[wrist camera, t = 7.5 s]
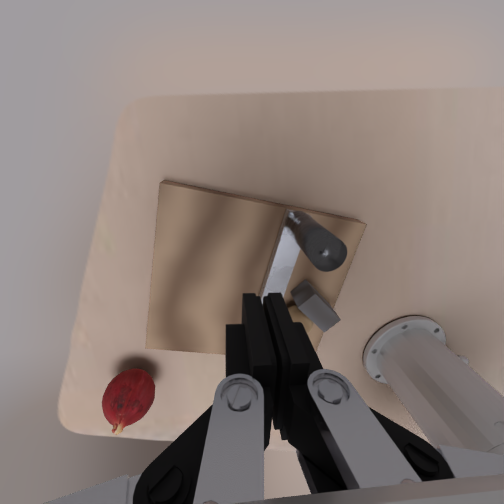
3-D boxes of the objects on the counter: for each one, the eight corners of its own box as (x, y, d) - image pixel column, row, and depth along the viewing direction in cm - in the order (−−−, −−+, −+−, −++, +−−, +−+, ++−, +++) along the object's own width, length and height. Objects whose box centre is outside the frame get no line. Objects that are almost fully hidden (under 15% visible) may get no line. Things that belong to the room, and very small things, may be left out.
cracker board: (357, 219, 30) (386, 234, 25) (307, 350, 37) (321, 383, 32) (163, 180, 25) (150, 188, 20) (149, 337, 32) (136, 372, 27)
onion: (115, 353, 33) (85, 413, 26) (161, 355, 34) (145, 413, 27) (116, 386, 35) (89, 449, 28) (159, 386, 36) (144, 447, 29)
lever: (264, 360, 33) (279, 433, 25) (231, 357, 32) (236, 431, 24) (317, 213, 26) (364, 244, 18) (278, 203, 25) (307, 231, 17)
